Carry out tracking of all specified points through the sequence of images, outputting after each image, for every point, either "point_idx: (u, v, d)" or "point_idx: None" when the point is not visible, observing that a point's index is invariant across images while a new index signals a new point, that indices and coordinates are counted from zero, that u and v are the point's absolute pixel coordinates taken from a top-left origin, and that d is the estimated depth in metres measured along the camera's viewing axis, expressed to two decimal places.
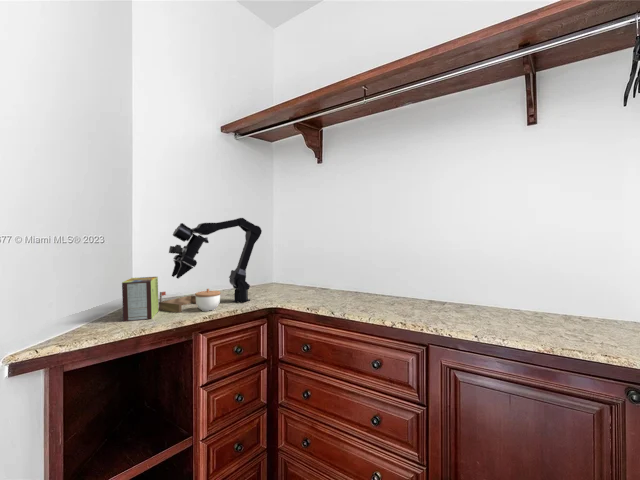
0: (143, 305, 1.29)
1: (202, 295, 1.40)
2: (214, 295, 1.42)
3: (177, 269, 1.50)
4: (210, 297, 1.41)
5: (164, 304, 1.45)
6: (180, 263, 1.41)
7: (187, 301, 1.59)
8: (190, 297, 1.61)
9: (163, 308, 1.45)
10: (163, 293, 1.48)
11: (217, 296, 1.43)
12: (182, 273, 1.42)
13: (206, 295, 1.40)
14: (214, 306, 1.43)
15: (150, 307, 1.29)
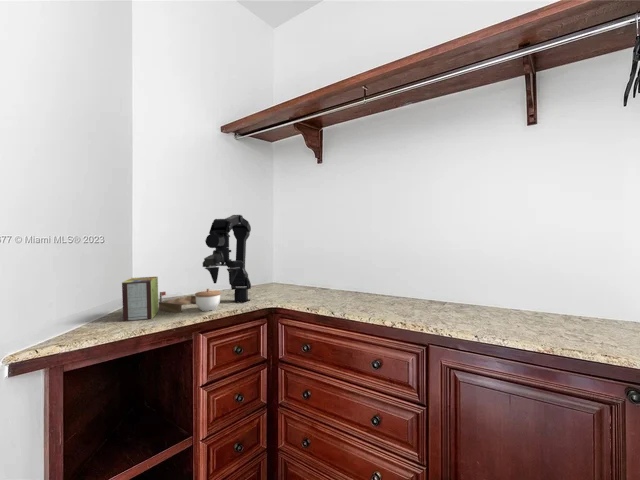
0: (143, 305, 1.29)
1: (202, 295, 1.40)
2: (214, 295, 1.42)
3: (215, 274, 1.43)
4: (210, 297, 1.41)
5: (164, 304, 1.45)
6: (229, 270, 1.36)
7: (187, 301, 1.59)
8: (190, 297, 1.61)
9: (163, 308, 1.45)
10: (163, 293, 1.48)
11: (217, 296, 1.43)
12: (233, 277, 1.39)
13: (206, 295, 1.40)
14: (214, 306, 1.43)
15: (150, 307, 1.29)
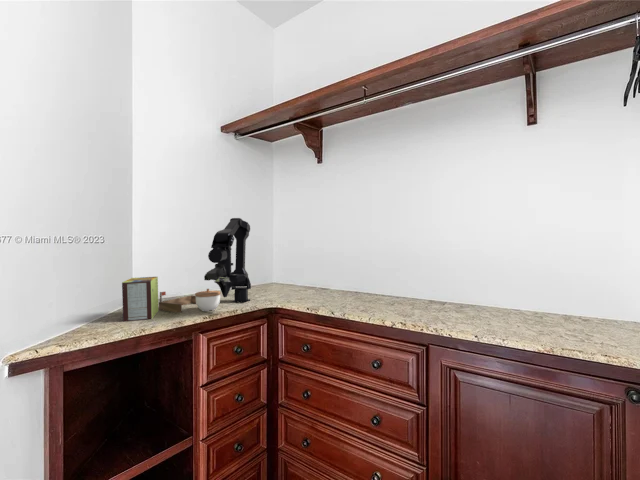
0: (143, 305, 1.29)
1: (202, 295, 1.40)
2: (214, 295, 1.42)
3: None
4: (210, 297, 1.41)
5: (164, 304, 1.45)
6: (223, 284, 1.38)
7: (187, 301, 1.59)
8: (190, 297, 1.61)
9: (163, 308, 1.45)
10: (163, 293, 1.48)
11: (217, 296, 1.43)
12: (228, 290, 1.41)
13: (206, 295, 1.40)
14: (214, 306, 1.43)
15: (150, 307, 1.29)
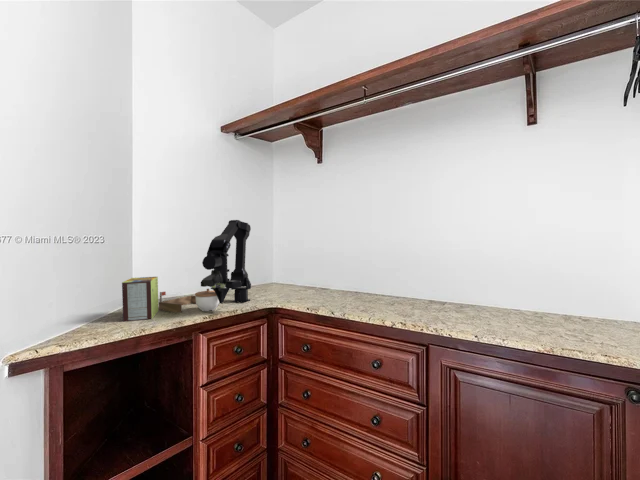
0: (143, 305, 1.29)
1: (202, 295, 1.40)
2: (214, 295, 1.42)
3: None
4: (210, 297, 1.41)
5: (164, 304, 1.45)
6: (219, 290, 1.39)
7: (187, 301, 1.59)
8: (190, 297, 1.61)
9: (163, 308, 1.45)
10: (163, 293, 1.48)
11: None
12: (224, 296, 1.42)
13: (206, 295, 1.40)
14: (214, 306, 1.43)
15: (150, 307, 1.29)
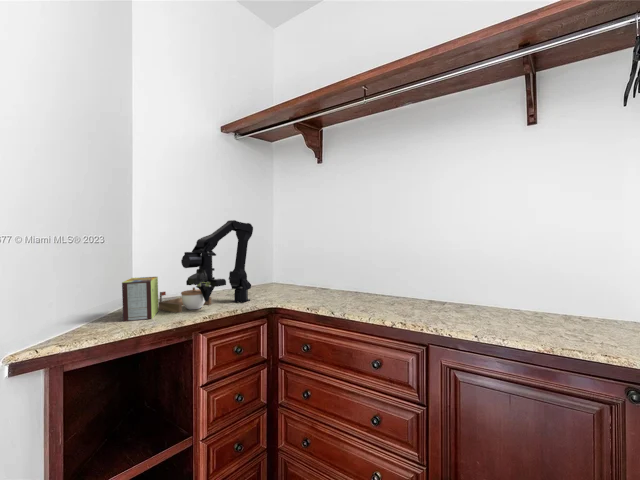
0: (143, 305, 1.29)
1: (187, 293, 1.44)
2: (199, 293, 1.46)
3: None
4: (195, 295, 1.45)
5: (164, 304, 1.45)
6: (204, 288, 1.43)
7: None
8: None
9: (163, 308, 1.45)
10: (163, 293, 1.48)
11: None
12: (209, 295, 1.46)
13: (191, 293, 1.44)
14: (200, 304, 1.47)
15: (150, 307, 1.29)
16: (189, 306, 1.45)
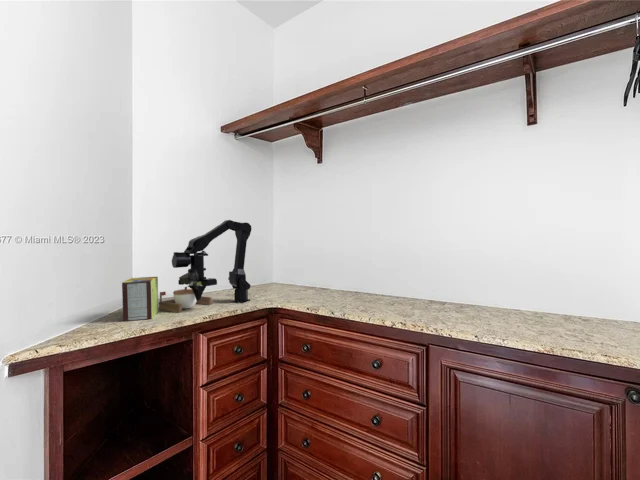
0: (143, 305, 1.29)
1: (179, 293, 1.46)
2: (191, 293, 1.48)
3: None
4: (187, 295, 1.47)
5: (164, 304, 1.45)
6: (196, 288, 1.45)
7: None
8: None
9: (163, 308, 1.45)
10: (163, 293, 1.48)
11: None
12: (200, 294, 1.48)
13: (183, 293, 1.46)
14: (191, 303, 1.49)
15: (150, 307, 1.29)
16: None
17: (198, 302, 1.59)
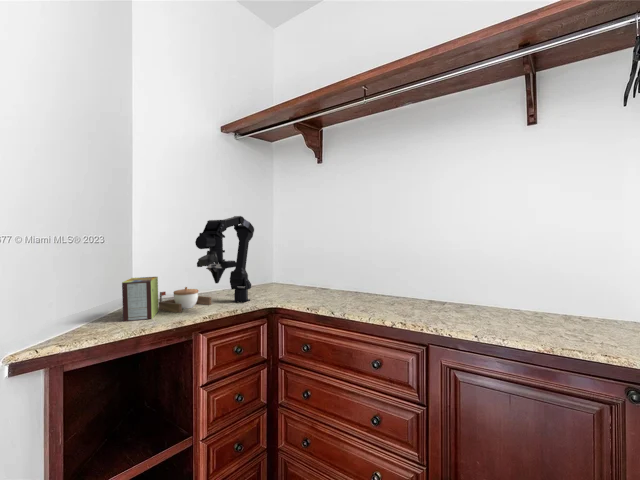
0: (143, 305, 1.29)
1: (180, 293, 1.46)
2: (191, 293, 1.48)
3: None
4: (187, 295, 1.47)
5: (164, 304, 1.45)
6: (215, 270, 1.42)
7: None
8: None
9: (163, 308, 1.45)
10: (163, 293, 1.48)
11: (194, 294, 1.50)
12: (219, 277, 1.44)
13: (183, 293, 1.46)
14: (192, 304, 1.49)
15: (150, 307, 1.29)
16: None
17: (198, 302, 1.59)
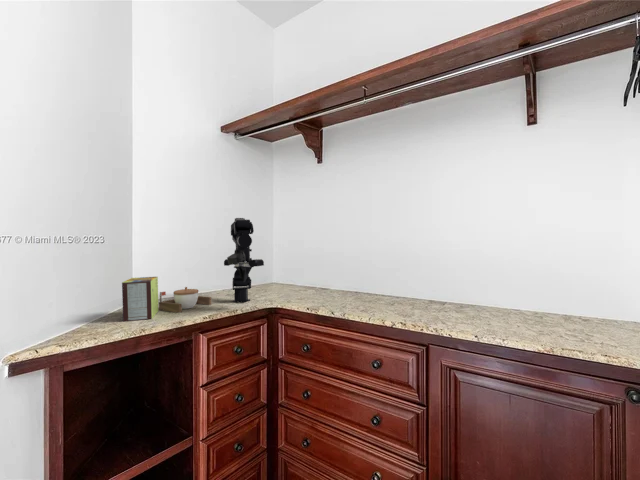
0: (143, 305, 1.29)
1: (180, 293, 1.46)
2: (191, 293, 1.48)
3: None
4: (187, 295, 1.47)
5: (164, 304, 1.45)
6: (243, 268, 1.45)
7: None
8: None
9: (163, 308, 1.45)
10: (163, 293, 1.48)
11: (194, 294, 1.50)
12: (246, 275, 1.47)
13: (183, 293, 1.46)
14: (192, 304, 1.49)
15: (150, 307, 1.29)
16: None
17: (198, 302, 1.59)
